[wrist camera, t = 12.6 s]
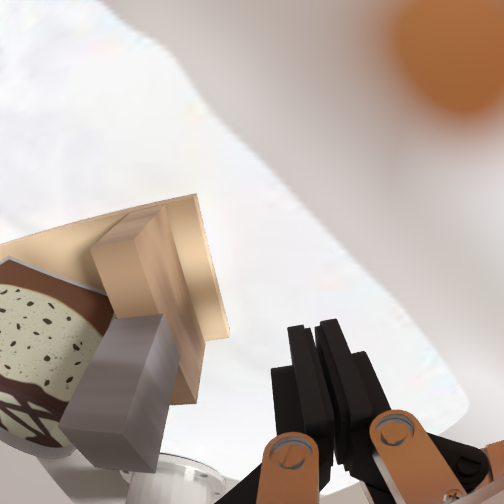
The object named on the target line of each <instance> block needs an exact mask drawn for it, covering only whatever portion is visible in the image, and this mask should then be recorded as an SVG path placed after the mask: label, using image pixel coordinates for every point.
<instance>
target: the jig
mask: <svg viewBox="0 0 504 504" xmlns="http://www.w3.org/2000/svg"><path fill="white" fill-rule="evenodd" d="M162 205H165V207H166V211H167V215H168V219H169V223H170V227H171V230H172V234H173V238H174V242H175V245H176V249H177V253H178V256H179V260H180V263H181V267H182V270H183V274H184V277H185V280H186V284H187V287H188V291H189V294H190V297H191V300H192V304H193V307H194V310H195V313H196V316H197V320H198V323H199V326H200V329H201V332H202V335H203V338H204V341H209V340H218V339H225V338H229V329H230V328H229V325H228V321H227V317H226V313H225V310H224V306H223V302H222V298H221V294H220V290H219V286H218V282H217V278H216V274H215V270H214V266H213V262H212V258H211V254H210V250H209V245H208V241H207V237H206V233H205V229H204V224H203V220H202V216H201V211H200V207H199V202H198V198H197V193H196V194H192V195H187V196H182V197H177V198H172V199H168V200H163V201H159V202H154V203H150V204H145V205H141V206H137V207H132V208H128V209H124V210H120V211H116V212H112V213H108V214H104V215H100V216H96V217H92V218H88V219H85V220H81V221H77V222H73V223H70V224H66V225H63V226H59V227H55V228H52V229H48V230H45V231H42V232H38V233H35V234H32V235H28V236H25V237H22V238H19V239H15V240H12V241H9V242H6V243H3V244H0V261H1V260H2V259H4V258H6V257H7V256H12V257H14V258H17V259H19V260H22V261H24V262H27V263H29V264H32V265H34V266H37V267H39V268H42V269H45V270H47V271H50V272H52V273H55V274H58V275H61V276H63V277H66V278H69V279H72V280H74V281H77V282H80V283H83V284H86V285H89V286H91V287H94V288H97V289H100V290H103V291H105V288H104V285H103V283H102V280H101V278H100V275H99V272H98V270H97V267H96V264H95V262H94V259H93V256H92V253H91V250H90V248H91V247H92V246H93V245H94V244H95V243H96V242H98V241H99V240H100V239H101V238H102V237H103V236H104V235H105V234H106V233H107V232H109V231H110V230H111V229H112V228H113V227H114V226H115V225H117V224H118V223H119V222H120V221H121V220H122V219H123V218H125V217H126V216H127V215H128V214H129V213H131V212H135V211H139V210H144V209H148V208H153V207H157V206H162Z"/></svg>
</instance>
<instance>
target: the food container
mask: <svg viewBox="0 0 504 504" xmlns="http://www.w3.org/2000/svg"><path fill="white" fill-rule="evenodd" d="M113 319H117V317H116V315H115V312H114V310H113V308H112V305H111V303H110V300H109V298H108V295H107V293H106V291H103V290H100V289H97V288H94V287H91V286H89V285H86V284H83V283H80V282H77V281H74V280H72V279H69V278H66V277H63V276H61V275H58V274H55V273H52V272H50V271H47V270H45V269H42V268H39V267H37V266H34V265H32V264H29V263H27V262H24V261H22V260H19V259H17V258H14V257H12V256H7V257H6V258H4V259H2V260H1V261H0V440H1V441H2V442H4V443H6V444H8V445H10V446H12V447H14V448H16V449H18V450H20V451H23V452H25V453H28V454H31V455H34V456H38V457H42V458H49V459H58V458H64V457H67V456H69V455H70V454H71V453H72V452H73V451H74V450H75V449H77V448H76V447H75V446H74V445H73V444H72V443H71V442H70V440H69V439H68V438H67V437H66V436H65V435H64V434H63V432H62V431H61V430H60V429H59V428H58V427H57V426H58V424H59V422H60V420H61V418H62V416H63V414H64V411H65V409H66V407H67V405H68V403H69V401H70V399H71V397H72V395H73V393H74V391H75V389H76V387H77V385H78V383H79V381H80V379H81V378H82V376H83V374H84V372H85V370H86V368H87V366H88V364H89V362H90V360H91V359H92V357H93V355H94V353H95V351H96V349H97V348H98V346H99V344H100V342H101V340H102V339H103V337H104V335H105V333H106V331H107V330H108V328H109V326H110V324H111V323H112V321H113Z"/></svg>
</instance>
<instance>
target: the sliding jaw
mask: <svg viewBox="0 0 504 504" xmlns="http://www.w3.org/2000/svg"><path fill="white" fill-rule="evenodd" d="M90 250H91V253H92V256H93V259H94V262H95V264H96V267H97V270H98V272H99V275H100V278H101V280H102V283H103V285H104V288H105V291H106V293H107V295H108V298H109V300H110V303H111V305H112V308H113V310H114V312H115V315H116V317H117V319H113V321H112V323H111V324H110V326H109V328H108V330H107V331H106V333H105V335H104V337H103V339H102V340H101V342H100V344H99V346H98V348H97V349H96V351H95V353H94V355H93V357H92V359H91V360H90V362H89V364H88V366H87V368H86V370H85V372H84V374H83V376H82V378H81V379H80V381H79V383H78V385H77V387H76V389H75V391H74V393H73V395H72V397H71V399H70V401H69V403H68V405H67V407H66V409H65V411H64V414H63V416H62V418H61V420H60V422H59V424H58V426H57V427H58V428H59V429H60V430H61V431H62V432H63V434H64V435H65V436H66V437H67V438H68V439H69V440H70V442H71V443H72V444H73V445H74V446H75V447H76V448H77V449H78V450H79V451H80V452H81V453H82V454H83V455H84V457H85V458H86V459H87V460H88V461H89V462H90V463H91V464H92V465H93V466H94V467H99V468H106V469H113V470H121V471H130V472H141V473H154V474H155V473H156V468H157V463H158V458H159V453H160V448H161V443H162V438H163V433H164V428H165V424H166V419H167V414H168V410H169V405H183V404H197V397H198V390H199V383H200V376H201V370H202V363H203V356H204V350H205V341H204V338H203V335H202V332H201V329H200V326H199V323H198V320H197V316H196V313H195V310H194V307H193V304H192V300H191V297H190V294H189V291H188V287H187V284H186V280H185V277H184V274H183V270H182V267H181V263H180V260H179V256H178V253H177V249H176V245H175V242H174V238H173V234H172V230H171V227H170V223H169V219H168V215H167V211H166V207H165V205H162V206H157V207H153V208H148V209H144V210H139V211H135V212H131V213H129V214H128V215H127V216H126V217H125V218H123V219H122V220H121V221H120V222H119V223H118V224H117V225H115V226H114V227H113V228H112V229H111V230H110V231H109V232H107V233H106V234H105V235H104V236H103V237H102V238H101V239H100V240H99V241H98V242H96V243H95V244H94V245H93V246H92V247H91V248H90Z"/></svg>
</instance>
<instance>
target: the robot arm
mask: <svg viewBox="0 0 504 504" xmlns="http://www.w3.org/2000/svg"><path fill="white" fill-rule="evenodd" d="M287 329H288V337H289V344H290V351H291V359H292V365H290V366H284V367H278V368H271V379H272V389H273V400H274V410H275V421H276V432H277V436H276V437H275V438H273V439H272V440H271V441H270V442H269V443H268V444H267V445H266V447H265V450H264V453H263V459H262V463H261V464H260V465H259V466H258V467H256V468H255V469H254V470H253V471H252V472H251V473H250V474H249V475H248V476H246V477H245V478H244V479H243V480H242V481H241V482H240V483H238V484H237V485H236V486H235V487H234V488H233V489H231V490H230V491H229V492H228V493H227V494H225V495H224V496H223V497H222V498H221V499H219V500H218V501H217V502H216V503H214V504H319V494H320V491H321V490H322V489H323V488H324V487H325V486H326V484H327V483H328V482H329V481H330V471H331V466H333V454H334V452H335V457H336V461H337V464H338V465H340V464H343V465H344V469H345V471H349V472H350V476H352V477H354V478H356V479H358V480H360V484H361V487H362V489H363V491H364V493H365V495H366V497H367V500H368V502H369V504H504V440H503V441H499V442H496V443H492V444H489V445H486V447H485V448H482V449H478V448H475V447H472V446H469V445H465V444H462V443H459V442H455V441H452V440H449V439H446V438H442V437H439V436H436V435H433V434H430V433H427V432H426V431H425V430H424V428H423V427H422V426H421V424H420V423H419V421H418V420H417V419H416V418H415V417H414V416H413V415H412V414H411V413H409V412H407V411H403V410H391V408H390V405H389V403H388V401H387V398H386V396H385V394H384V391H383V389H382V387H381V385H380V382H379V380H378V378H377V376H376V373H375V371H374V369H373V367H372V364H371V362H370V360H369V358H368V356H367V354H366V352H365V351H361V352H357V353H352V354H351V352H350V350H349V347H348V345H347V342H346V340H345V337H344V335H343V333H342V330H341V328H340V325H339V323H338V321H337V319H330V320H325V321H320V326H316V327H315V339H316V346H315V342H314V339H313V335H312V332H311V329H310V328H305V329H304V325H298V326H292V327H287ZM119 471H120V474H121V476H122V477H123V479H124V480H125V481H126V482H128V483H129V484H130V485H129V489H128V493H127V498H126V502H125V504H211V500H214V499H217V498H219V497H220V496H222V495H223V494H224V493H225V489H226V482H225V479H224V478H223V476H221V475H220V474H219V473H218V472H217V471H215V470H213V469H212V468H210V467H208V466H205V465H203V464H201V463H198V462H195V461H192V460H188V459H185V458H181V457H176V456H171V455H164V454H159V458H158V463H157V468H156V473H155V474H154V473H141V472H130V471H121V470H119Z"/></svg>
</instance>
